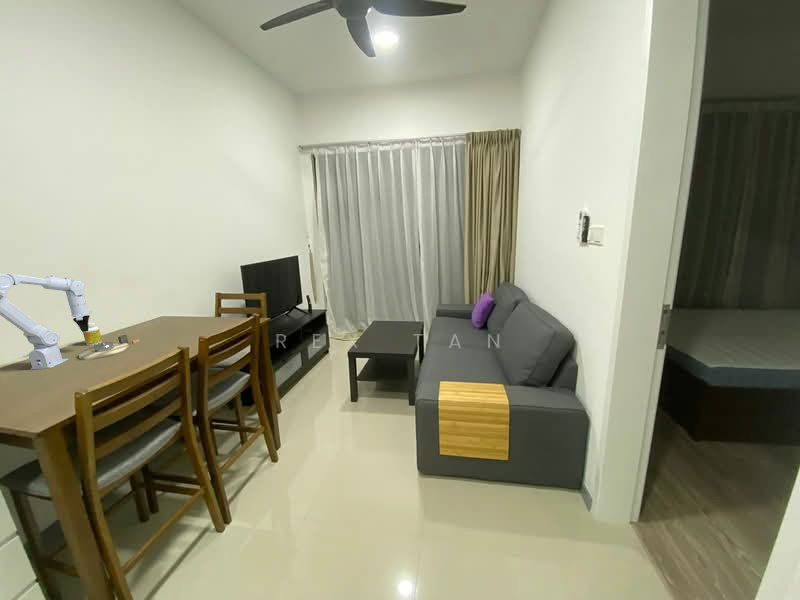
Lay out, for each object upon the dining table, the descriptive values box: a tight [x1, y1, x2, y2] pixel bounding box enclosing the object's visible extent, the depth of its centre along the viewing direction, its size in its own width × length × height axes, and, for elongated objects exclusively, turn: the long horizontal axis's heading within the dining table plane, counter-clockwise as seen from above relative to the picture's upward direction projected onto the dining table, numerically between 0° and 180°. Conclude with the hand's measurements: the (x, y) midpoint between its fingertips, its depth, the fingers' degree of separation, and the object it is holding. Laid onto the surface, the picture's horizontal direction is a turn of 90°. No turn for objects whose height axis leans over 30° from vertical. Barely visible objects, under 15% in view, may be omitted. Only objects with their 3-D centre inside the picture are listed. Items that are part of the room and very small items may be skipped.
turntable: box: [78, 334, 130, 361], centre depth 157 cm, size 18×20×5 cm
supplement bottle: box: [82, 321, 103, 346], centre depth 169 cm, size 6×6×11 cm
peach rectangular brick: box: [131, 338, 141, 344], centre depth 169 cm, size 3×1×2 cm, turn 160°
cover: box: [93, 341, 114, 352], centre depth 156 cm, size 7×7×3 cm
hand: (85, 331), depth 157 cm, fingers closed
